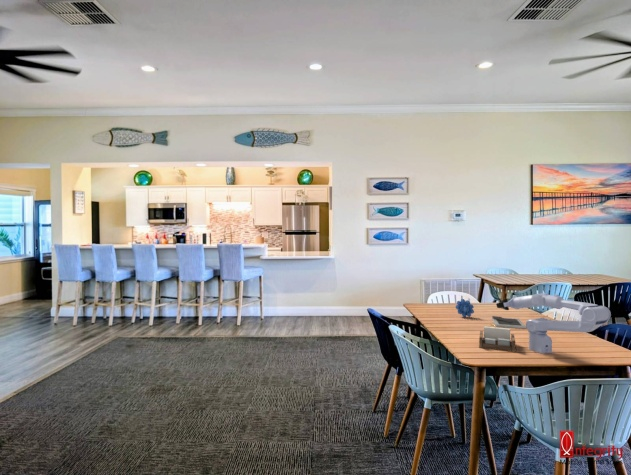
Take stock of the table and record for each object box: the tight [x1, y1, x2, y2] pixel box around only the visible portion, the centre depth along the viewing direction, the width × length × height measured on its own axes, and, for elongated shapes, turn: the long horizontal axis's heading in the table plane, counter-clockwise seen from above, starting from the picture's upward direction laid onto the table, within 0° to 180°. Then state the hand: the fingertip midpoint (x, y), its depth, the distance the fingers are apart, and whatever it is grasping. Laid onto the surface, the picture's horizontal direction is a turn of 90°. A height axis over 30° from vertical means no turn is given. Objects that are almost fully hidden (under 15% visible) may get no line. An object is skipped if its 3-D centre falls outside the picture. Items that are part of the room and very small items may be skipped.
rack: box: [478, 330, 516, 353], centre depth 201 cm, size 24×16×6 cm, turn 156°
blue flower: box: [455, 298, 475, 318], centre depth 263 cm, size 12×7×12 cm, turn 78°
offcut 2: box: [498, 338, 511, 346], centre depth 192 cm, size 2×5×4 cm, turn 66°
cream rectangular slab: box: [483, 326, 511, 341], centre depth 200 cm, size 2×12×8 cm, turn 66°
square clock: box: [491, 315, 527, 330], centre depth 246 cm, size 16×3×21 cm
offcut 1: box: [485, 338, 495, 344], centre depth 194 cm, size 2×4×4 cm, turn 66°
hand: (502, 305), depth 209 cm, fingers open, 7 cm apart
